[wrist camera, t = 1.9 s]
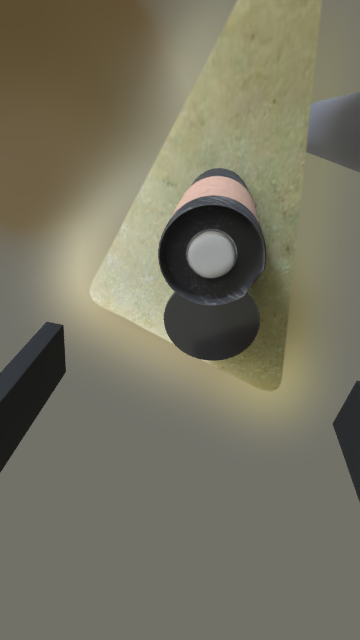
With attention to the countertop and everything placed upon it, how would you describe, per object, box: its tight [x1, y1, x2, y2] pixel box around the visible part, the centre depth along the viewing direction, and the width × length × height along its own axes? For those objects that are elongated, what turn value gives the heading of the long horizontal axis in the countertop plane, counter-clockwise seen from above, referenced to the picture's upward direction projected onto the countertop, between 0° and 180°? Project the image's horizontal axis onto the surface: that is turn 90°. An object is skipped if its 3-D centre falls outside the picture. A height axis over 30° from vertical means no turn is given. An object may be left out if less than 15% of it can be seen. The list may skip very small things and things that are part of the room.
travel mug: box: [158, 168, 266, 306], centre depth 31 cm, size 8×8×20 cm
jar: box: [164, 286, 260, 360], centre depth 42 cm, size 11×11×10 cm
